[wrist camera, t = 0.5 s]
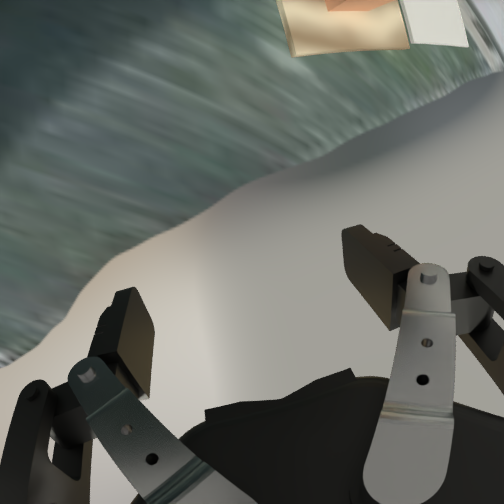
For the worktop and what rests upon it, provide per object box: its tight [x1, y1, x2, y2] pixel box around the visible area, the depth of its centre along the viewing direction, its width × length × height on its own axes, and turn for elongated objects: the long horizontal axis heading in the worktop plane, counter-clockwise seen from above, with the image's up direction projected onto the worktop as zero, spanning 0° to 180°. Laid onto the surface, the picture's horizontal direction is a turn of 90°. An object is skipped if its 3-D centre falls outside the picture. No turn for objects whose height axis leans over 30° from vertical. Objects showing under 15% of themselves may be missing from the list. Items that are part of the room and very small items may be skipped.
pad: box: [400, 0, 469, 47], centre depth 30 cm, size 12×12×1 cm
